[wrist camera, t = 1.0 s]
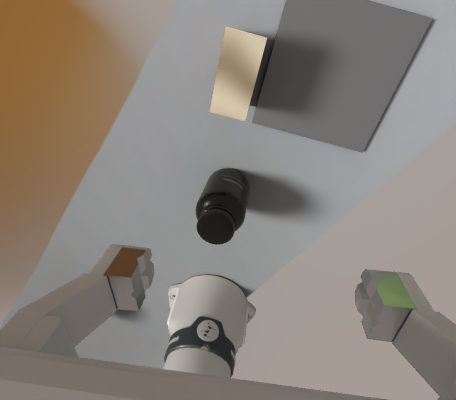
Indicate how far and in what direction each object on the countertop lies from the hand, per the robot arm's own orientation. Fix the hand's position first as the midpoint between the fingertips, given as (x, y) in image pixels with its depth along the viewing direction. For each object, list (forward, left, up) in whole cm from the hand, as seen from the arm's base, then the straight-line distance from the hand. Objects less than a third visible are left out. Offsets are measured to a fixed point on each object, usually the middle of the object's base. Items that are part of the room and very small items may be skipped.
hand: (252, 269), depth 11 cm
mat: (+6, -7, -31) cm, 32 cm away
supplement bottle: (-13, +2, -31) cm, 34 cm away
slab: (+4, +4, -31) cm, 31 cm away
